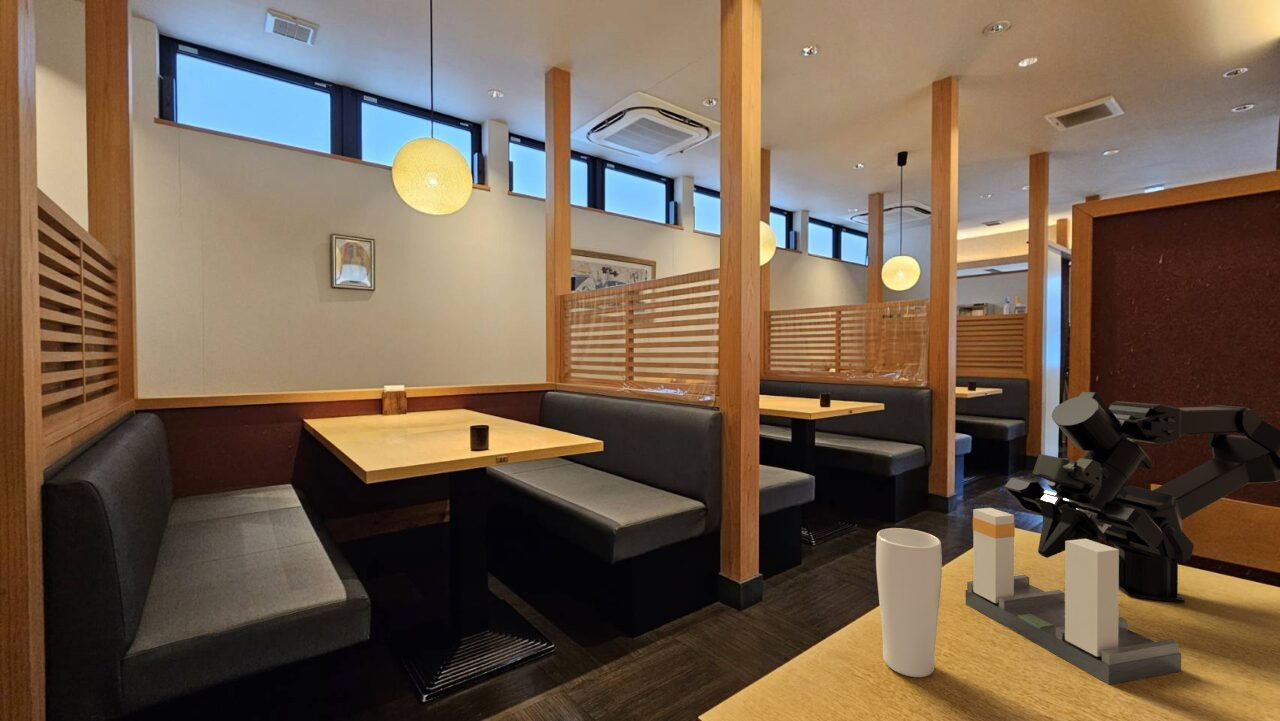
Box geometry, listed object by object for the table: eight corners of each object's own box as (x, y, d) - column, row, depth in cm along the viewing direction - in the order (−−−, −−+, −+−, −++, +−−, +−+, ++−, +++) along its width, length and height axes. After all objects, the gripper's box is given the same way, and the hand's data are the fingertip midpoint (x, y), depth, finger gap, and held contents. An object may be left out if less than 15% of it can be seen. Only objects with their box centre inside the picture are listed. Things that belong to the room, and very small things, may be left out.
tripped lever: (991, 589, 76) (991, 507, 76) (1014, 601, 73) (1014, 515, 73) (972, 591, 76) (972, 509, 76) (995, 603, 72) (995, 517, 72)
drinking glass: (951, 687, 58) (951, 549, 58) (884, 680, 59) (883, 545, 59) (930, 652, 65) (930, 529, 64) (870, 647, 66) (870, 526, 66)
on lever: (1085, 636, 64) (1085, 538, 64) (1118, 653, 60) (1118, 549, 60) (1064, 639, 63) (1065, 540, 63) (1097, 656, 60) (1097, 552, 59)
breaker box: (1024, 595, 79) (1024, 574, 79) (1181, 671, 61) (1181, 642, 61) (965, 603, 77) (965, 581, 77) (1108, 684, 58) (1108, 655, 58)
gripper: (1012, 426, 86) (955, 500, 84) (1145, 446, 68) (1076, 542, 66) (1052, 471, 88) (997, 545, 86) (1192, 502, 70) (1127, 597, 67)
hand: (1042, 555), depth 76 cm, fingers closed
